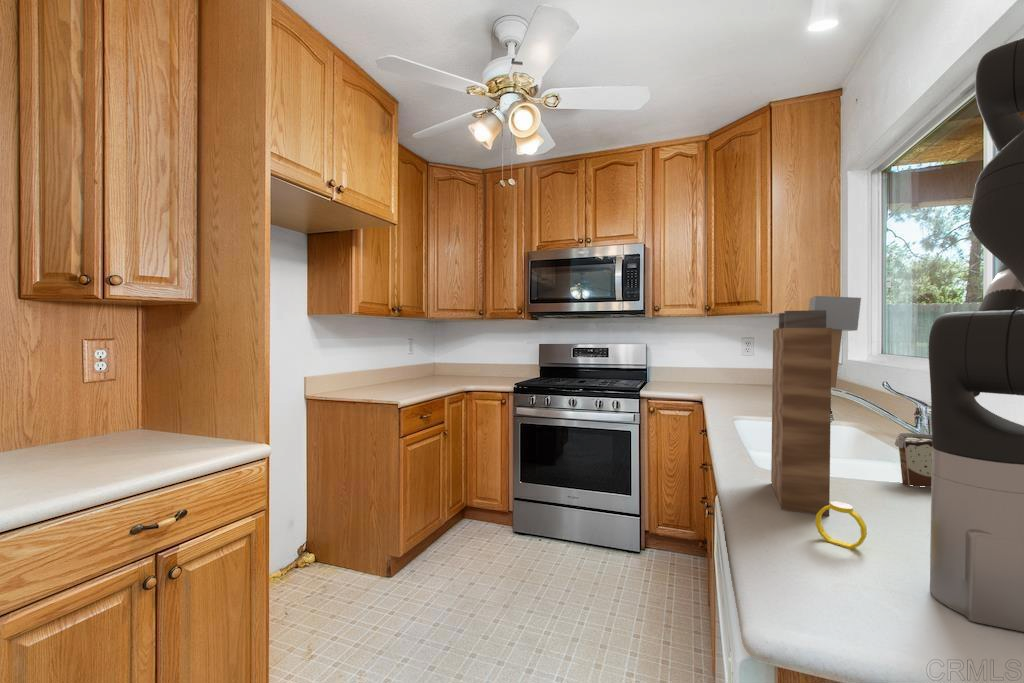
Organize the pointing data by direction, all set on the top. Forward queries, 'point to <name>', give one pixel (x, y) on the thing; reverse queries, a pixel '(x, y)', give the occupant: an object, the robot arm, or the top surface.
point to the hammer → (837, 322)
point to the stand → (801, 411)
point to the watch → (844, 509)
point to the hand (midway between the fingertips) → (981, 383)
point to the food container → (915, 458)
